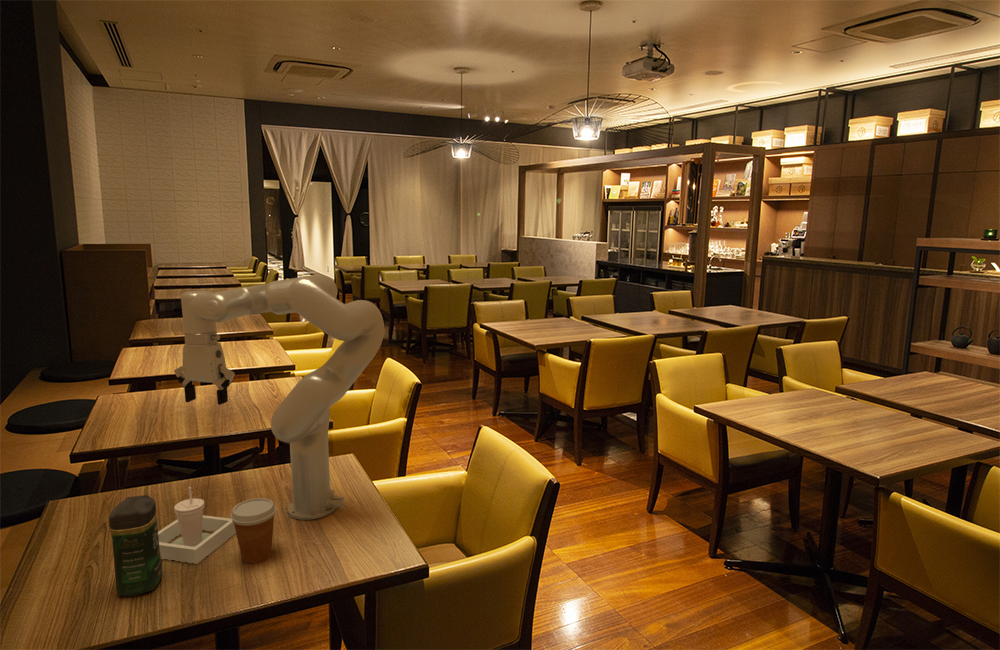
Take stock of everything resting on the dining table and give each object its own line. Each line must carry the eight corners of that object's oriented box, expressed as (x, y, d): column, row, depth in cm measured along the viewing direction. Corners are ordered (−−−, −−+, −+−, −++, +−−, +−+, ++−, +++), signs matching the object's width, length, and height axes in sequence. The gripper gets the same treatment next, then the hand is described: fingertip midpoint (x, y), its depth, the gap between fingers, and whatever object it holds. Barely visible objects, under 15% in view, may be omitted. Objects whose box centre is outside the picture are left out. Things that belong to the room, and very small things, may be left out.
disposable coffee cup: (235, 572, 130) (231, 521, 128) (232, 550, 138) (228, 502, 136) (281, 560, 134) (278, 511, 132) (276, 540, 143) (272, 494, 140)
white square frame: (236, 532, 146) (235, 519, 146) (196, 564, 133) (195, 549, 132) (187, 526, 149) (186, 513, 149) (143, 556, 136) (141, 542, 135)
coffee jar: (157, 594, 122) (147, 510, 119) (112, 601, 120) (102, 516, 117) (167, 568, 131) (158, 489, 128) (126, 574, 129) (116, 494, 126)
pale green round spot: (221, 536, 144) (221, 535, 144) (195, 556, 136) (194, 555, 136) (189, 532, 146) (189, 530, 146) (161, 552, 138) (161, 550, 138)
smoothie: (195, 551, 137) (190, 494, 135) (171, 548, 138) (165, 491, 136) (213, 536, 143) (209, 482, 141) (190, 534, 145) (185, 480, 142)
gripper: (239, 337, 156) (244, 400, 159) (182, 334, 160) (188, 395, 163) (220, 343, 149) (226, 408, 152) (161, 339, 152) (168, 404, 155)
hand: (206, 401), depth 157 cm, fingers open, 9 cm apart
